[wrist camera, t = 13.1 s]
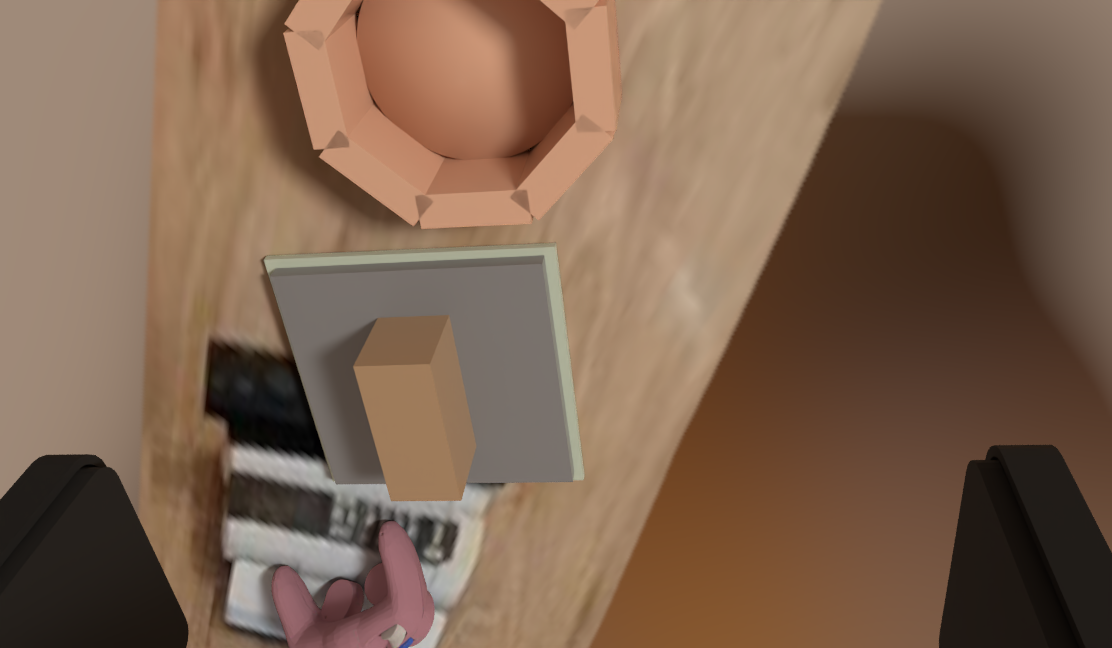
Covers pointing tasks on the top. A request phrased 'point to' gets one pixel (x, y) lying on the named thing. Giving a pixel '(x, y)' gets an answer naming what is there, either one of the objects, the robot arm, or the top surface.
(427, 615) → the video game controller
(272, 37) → the top surface
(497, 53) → the bowl
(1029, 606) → the robot arm
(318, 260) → the mat
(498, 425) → the lid
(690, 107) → the top surface
